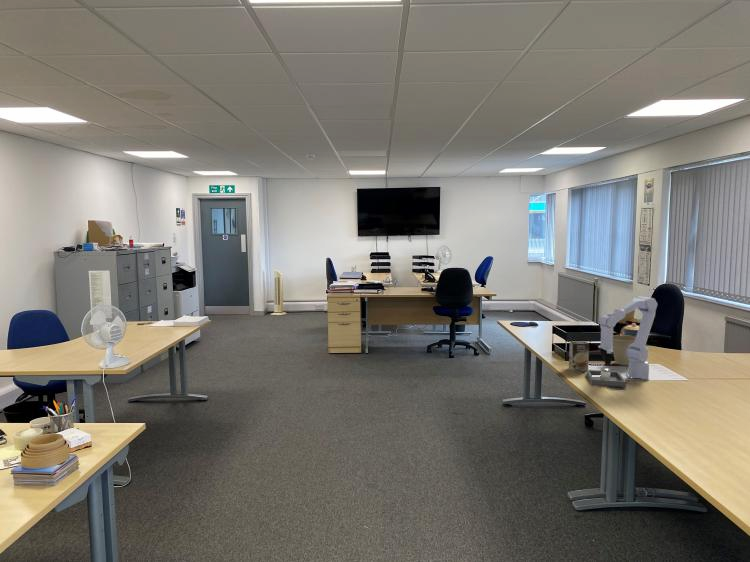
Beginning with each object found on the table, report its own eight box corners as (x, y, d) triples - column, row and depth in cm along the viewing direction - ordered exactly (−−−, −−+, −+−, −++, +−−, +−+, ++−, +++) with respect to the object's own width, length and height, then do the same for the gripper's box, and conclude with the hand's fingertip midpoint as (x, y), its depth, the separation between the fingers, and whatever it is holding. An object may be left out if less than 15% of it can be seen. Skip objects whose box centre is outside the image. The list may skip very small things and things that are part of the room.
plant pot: (604, 360, 291) (605, 335, 290) (629, 360, 291) (630, 334, 289) (616, 367, 276) (617, 340, 275) (642, 367, 276) (643, 340, 274)
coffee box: (571, 371, 271) (572, 343, 270) (568, 367, 278) (569, 341, 276) (588, 371, 270) (589, 343, 269) (584, 368, 277) (585, 341, 275)
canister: (626, 345, 327) (627, 320, 325) (647, 348, 317) (648, 322, 315) (618, 348, 319) (619, 323, 317) (639, 352, 309) (640, 325, 307)
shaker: (609, 379, 254) (609, 368, 254) (610, 381, 250) (611, 370, 249) (599, 378, 256) (600, 367, 255) (601, 381, 251) (601, 370, 250)
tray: (618, 376, 259) (618, 371, 259) (625, 387, 242) (626, 381, 242) (586, 375, 264) (586, 369, 263) (591, 385, 246) (592, 379, 246)
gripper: (596, 335, 259) (595, 359, 261) (601, 341, 245) (600, 366, 247) (610, 335, 257) (609, 359, 259) (616, 341, 244) (615, 367, 245)
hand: (606, 363), depth 253 cm, fingers open, 7 cm apart
